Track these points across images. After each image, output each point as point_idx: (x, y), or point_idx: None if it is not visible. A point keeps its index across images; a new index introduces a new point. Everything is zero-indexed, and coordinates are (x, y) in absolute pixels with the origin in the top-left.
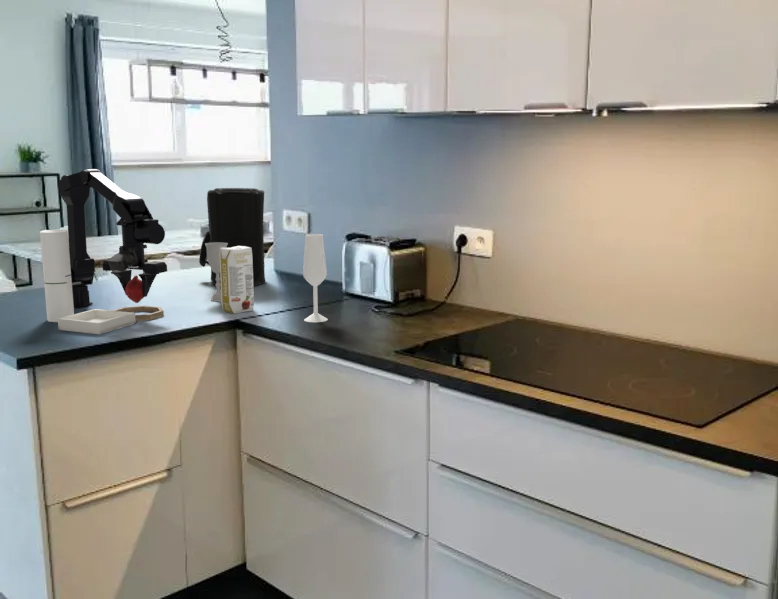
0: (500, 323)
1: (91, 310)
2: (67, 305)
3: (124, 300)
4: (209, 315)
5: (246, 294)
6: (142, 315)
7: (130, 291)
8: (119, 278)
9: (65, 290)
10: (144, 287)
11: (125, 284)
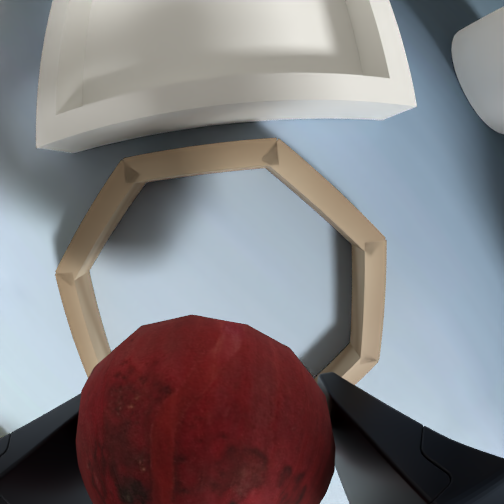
0: None
1: (392, 52)
2: (501, 32)
3: (465, 441)
4: (9, 414)
5: None
6: (75, 234)
7: (153, 343)
8: (484, 472)
9: None
10: (23, 427)
11: (366, 457)
